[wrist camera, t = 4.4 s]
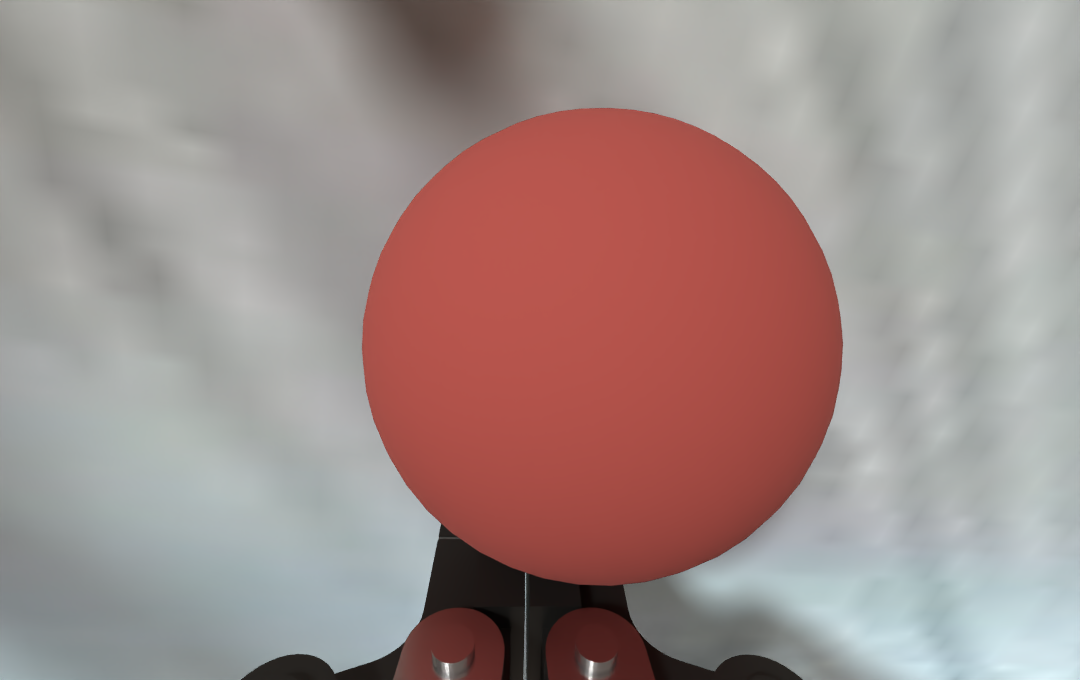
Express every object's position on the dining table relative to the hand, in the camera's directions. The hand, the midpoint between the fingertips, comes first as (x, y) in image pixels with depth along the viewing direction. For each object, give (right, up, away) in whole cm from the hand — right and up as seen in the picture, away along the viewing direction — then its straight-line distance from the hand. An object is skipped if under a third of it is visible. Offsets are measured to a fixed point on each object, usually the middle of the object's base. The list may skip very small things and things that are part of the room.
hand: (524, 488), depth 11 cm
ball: (+1, +3, -3) cm, 5 cm away
